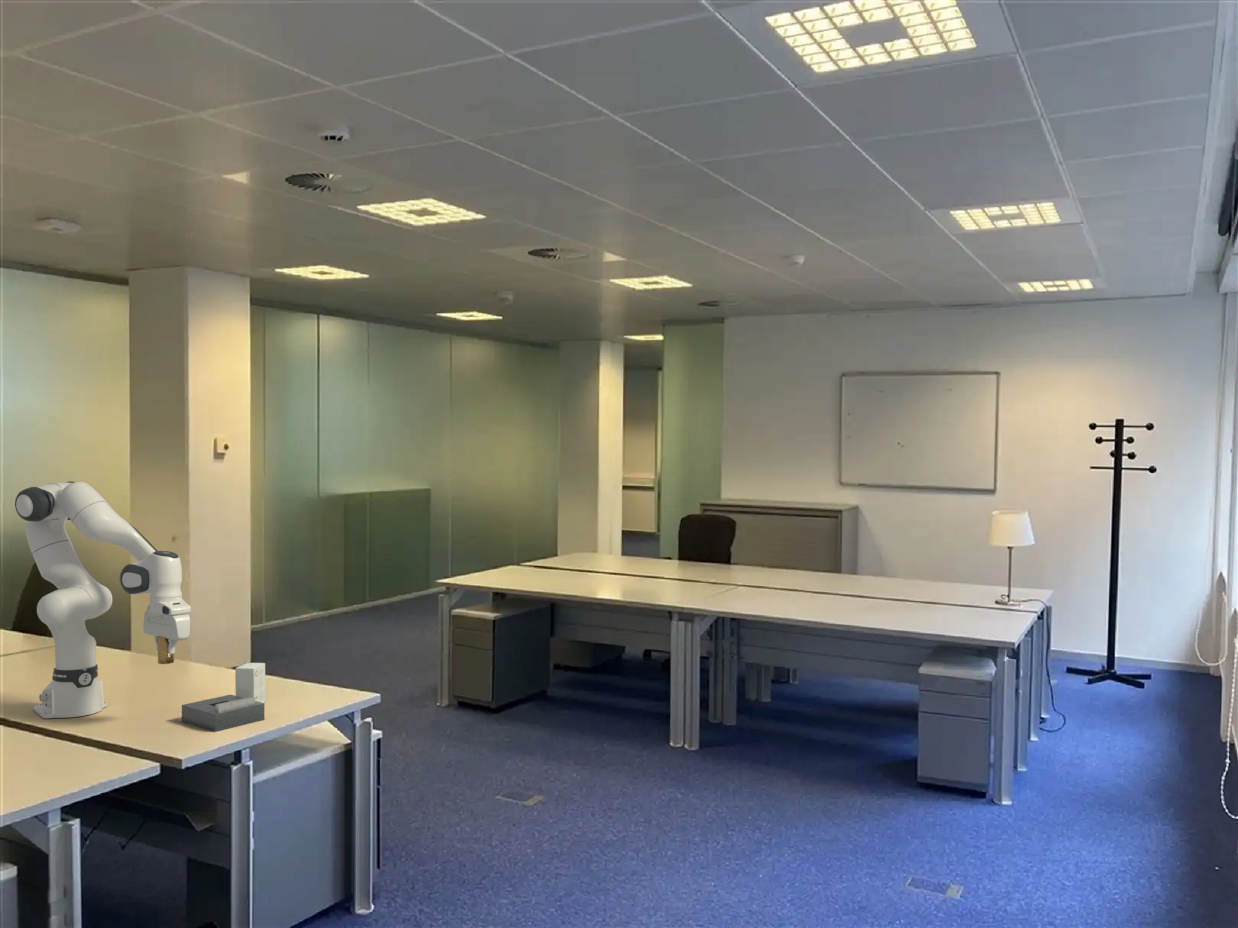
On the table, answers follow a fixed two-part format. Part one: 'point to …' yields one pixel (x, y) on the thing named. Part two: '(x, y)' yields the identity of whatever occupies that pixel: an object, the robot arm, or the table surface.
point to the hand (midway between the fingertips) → (165, 651)
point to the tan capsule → (164, 651)
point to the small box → (251, 681)
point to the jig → (223, 712)
